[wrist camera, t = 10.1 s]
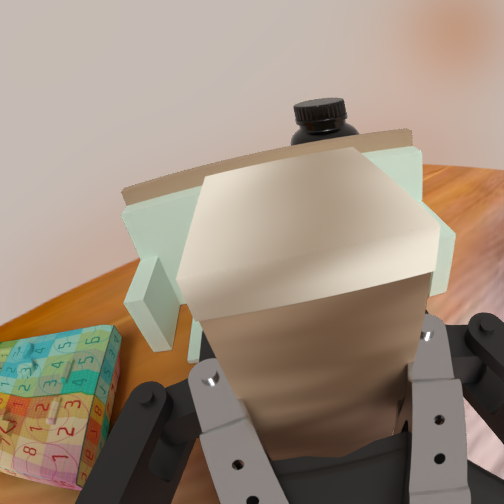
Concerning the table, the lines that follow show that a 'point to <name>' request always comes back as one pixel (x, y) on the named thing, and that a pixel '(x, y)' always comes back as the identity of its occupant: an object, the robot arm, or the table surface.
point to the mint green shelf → (183, 207)
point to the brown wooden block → (311, 295)
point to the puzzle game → (57, 403)
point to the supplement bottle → (321, 121)
